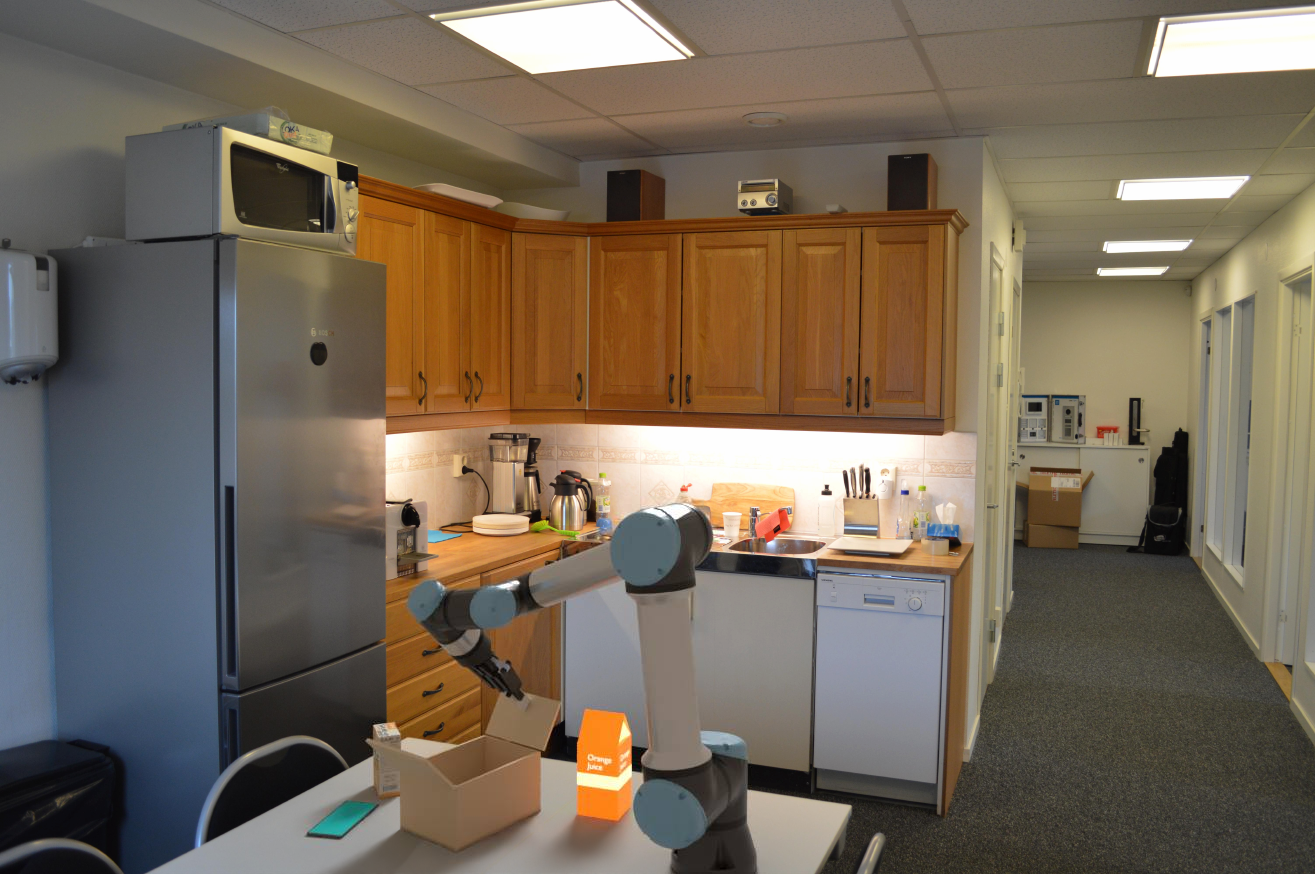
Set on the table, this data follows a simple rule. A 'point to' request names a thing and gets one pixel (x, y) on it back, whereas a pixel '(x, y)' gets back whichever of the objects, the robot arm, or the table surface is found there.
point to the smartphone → (343, 819)
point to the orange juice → (604, 765)
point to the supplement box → (383, 770)
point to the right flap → (524, 721)
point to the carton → (472, 793)
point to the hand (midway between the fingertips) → (524, 705)
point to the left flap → (411, 763)
